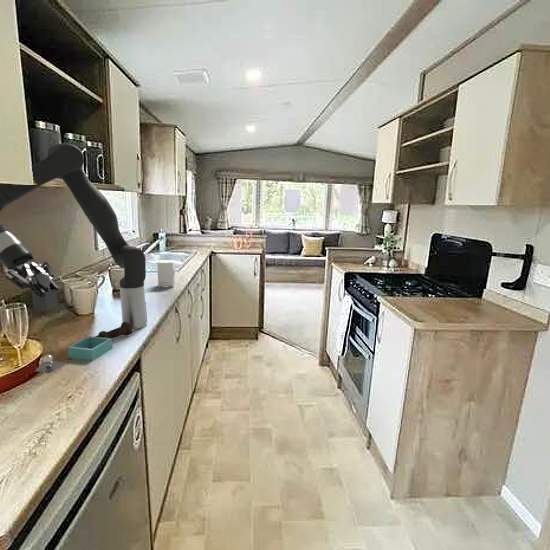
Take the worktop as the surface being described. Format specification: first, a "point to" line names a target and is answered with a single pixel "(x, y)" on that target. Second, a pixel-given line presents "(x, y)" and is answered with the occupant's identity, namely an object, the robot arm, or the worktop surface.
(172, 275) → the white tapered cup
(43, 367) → the stud plate
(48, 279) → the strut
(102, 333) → the brown bone toy
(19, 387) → the worktop surface
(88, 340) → the bin
